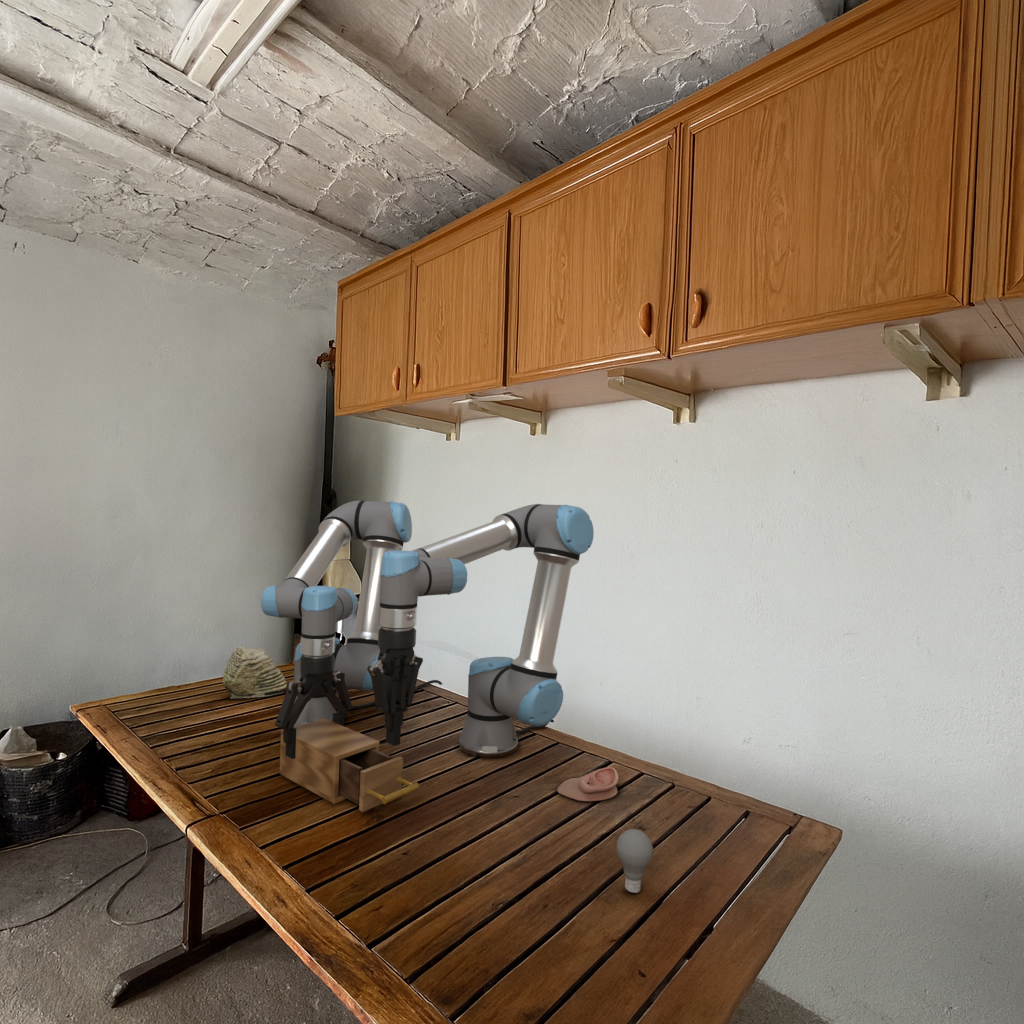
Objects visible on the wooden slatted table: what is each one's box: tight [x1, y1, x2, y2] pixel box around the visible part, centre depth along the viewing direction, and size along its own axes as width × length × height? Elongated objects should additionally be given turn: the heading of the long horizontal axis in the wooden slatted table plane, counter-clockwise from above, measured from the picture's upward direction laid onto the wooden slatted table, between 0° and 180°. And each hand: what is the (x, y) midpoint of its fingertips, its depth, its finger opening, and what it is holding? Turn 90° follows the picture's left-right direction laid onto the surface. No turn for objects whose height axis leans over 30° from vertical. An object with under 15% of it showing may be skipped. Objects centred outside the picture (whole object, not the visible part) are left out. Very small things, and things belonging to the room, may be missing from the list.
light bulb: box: [615, 828, 654, 894], centre depth 106 cm, size 6×6×10 cm
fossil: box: [222, 646, 287, 699], centre depth 198 cm, size 9×18×15 cm, turn 132°
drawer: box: [338, 748, 420, 813], centre depth 134 cm, size 25×10×8 cm, turn 51°
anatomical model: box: [556, 766, 619, 802], centre depth 142 cm, size 13×4×12 cm
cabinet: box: [279, 718, 381, 805], centre depth 142 cm, size 21×12×10 cm, turn 51°
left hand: (314, 749), depth 145 cm, fingers closed on cabinet, 11 cm apart
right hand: (392, 743), depth 128 cm, fingers closed
